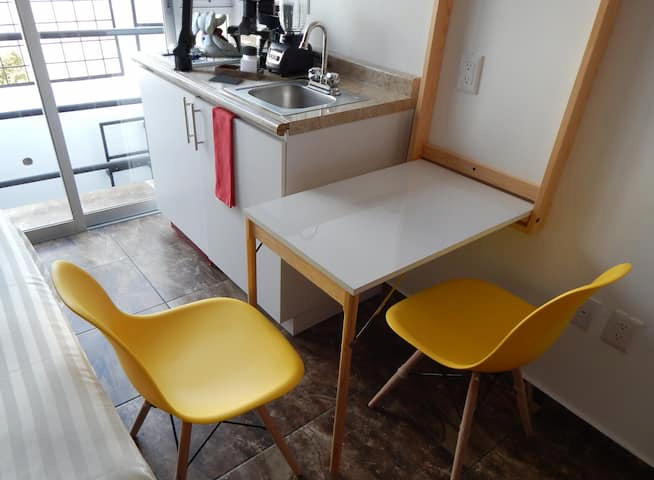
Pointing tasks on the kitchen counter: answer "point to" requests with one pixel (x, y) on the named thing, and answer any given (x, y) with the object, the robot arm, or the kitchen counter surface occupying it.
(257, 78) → the holder
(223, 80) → the mat
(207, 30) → the plush elephant
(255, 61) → the medicine bottle
